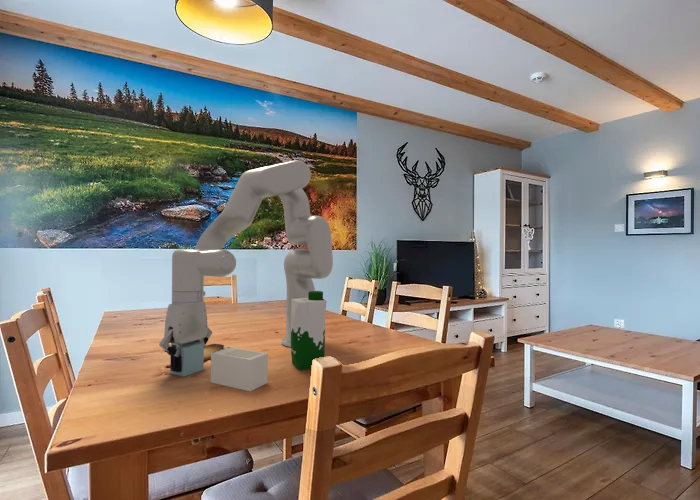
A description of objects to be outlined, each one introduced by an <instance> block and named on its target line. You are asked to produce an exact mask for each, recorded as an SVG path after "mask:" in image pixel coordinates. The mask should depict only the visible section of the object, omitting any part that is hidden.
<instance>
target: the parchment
mask: <svg viewBox="0 0 700 500" xmlns="http://www.w3.org/2000/svg"><path fill="white" fill-rule="evenodd" d="M224 346H225V345H224V344H221V343H210V344H206V345H205V348H204V363H205V362H208V361H211V353H212V352H214V351H218V350H222V349H223V348H224ZM166 368H169V366H168V365H167V366H166Z"/></svg>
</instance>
